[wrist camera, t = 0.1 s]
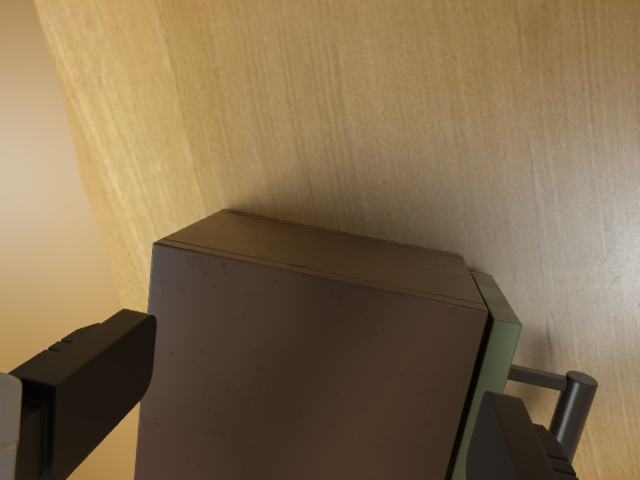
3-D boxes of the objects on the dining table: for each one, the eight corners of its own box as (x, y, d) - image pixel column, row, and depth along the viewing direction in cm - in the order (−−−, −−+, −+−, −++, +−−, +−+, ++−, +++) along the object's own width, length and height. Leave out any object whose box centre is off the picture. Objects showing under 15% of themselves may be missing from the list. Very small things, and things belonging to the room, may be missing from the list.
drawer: (581, 292, 27) (644, 350, 20) (527, 466, 30) (566, 569, 23) (261, 229, 29) (218, 262, 22) (238, 397, 32) (194, 473, 25)
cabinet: (461, 255, 29) (489, 311, 20) (417, 440, 32) (423, 559, 23) (223, 208, 30) (152, 242, 22) (202, 389, 34) (132, 482, 25)
